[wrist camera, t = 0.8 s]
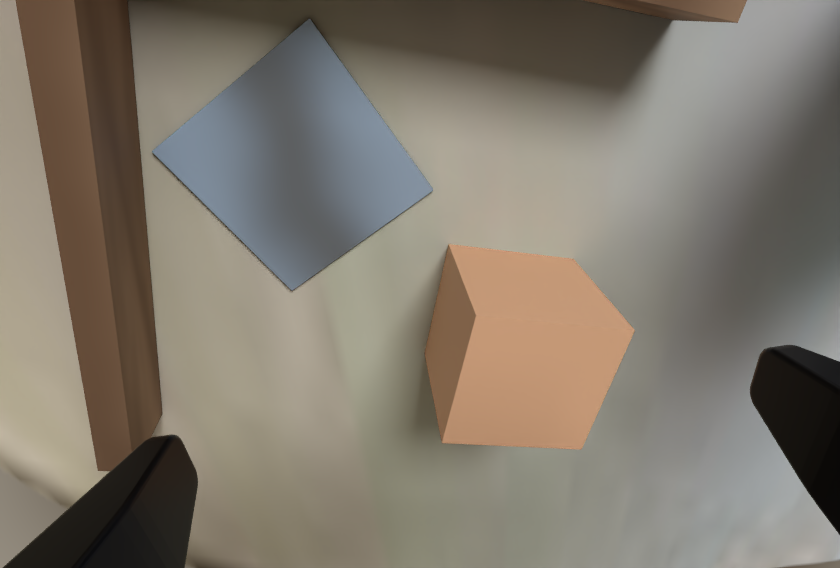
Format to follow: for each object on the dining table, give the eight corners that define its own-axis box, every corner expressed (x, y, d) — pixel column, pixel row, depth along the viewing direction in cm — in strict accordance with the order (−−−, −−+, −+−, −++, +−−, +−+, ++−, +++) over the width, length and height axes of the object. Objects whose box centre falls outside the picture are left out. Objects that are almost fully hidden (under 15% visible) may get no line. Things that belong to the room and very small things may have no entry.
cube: (573, 258, 19) (634, 330, 15) (536, 361, 22) (581, 449, 17) (448, 243, 19) (475, 315, 14) (424, 352, 21) (442, 442, 16)
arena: (689, -25, 15) (760, -32, 12) (523, 431, 24) (544, 484, 21) (58, -176, 12) (-25, -227, 9) (130, 411, 20) (97, 470, 18)
